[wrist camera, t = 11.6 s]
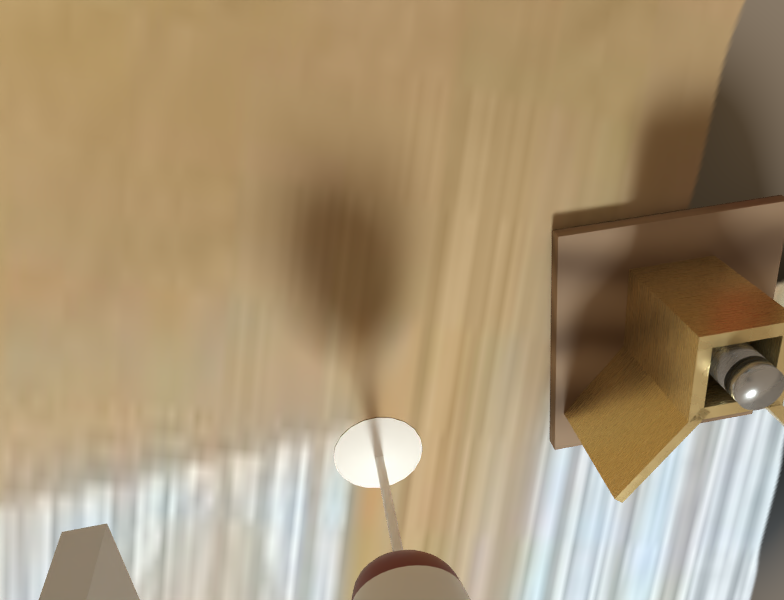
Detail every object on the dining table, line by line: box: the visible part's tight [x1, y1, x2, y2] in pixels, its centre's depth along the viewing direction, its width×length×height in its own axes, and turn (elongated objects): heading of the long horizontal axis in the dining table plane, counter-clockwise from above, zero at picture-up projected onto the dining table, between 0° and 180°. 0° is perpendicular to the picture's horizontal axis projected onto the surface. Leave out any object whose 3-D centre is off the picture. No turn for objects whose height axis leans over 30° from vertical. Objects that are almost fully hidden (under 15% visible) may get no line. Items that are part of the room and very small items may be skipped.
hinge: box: [564, 256, 784, 503], centre depth 52 cm, size 13×17×10 cm
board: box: [550, 195, 784, 450], centre depth 57 cm, size 20×18×1 cm
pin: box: [709, 342, 784, 410], centre depth 50 cm, size 3×3×12 cm
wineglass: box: [333, 418, 470, 600], centre depth 51 cm, size 8×9×20 cm
